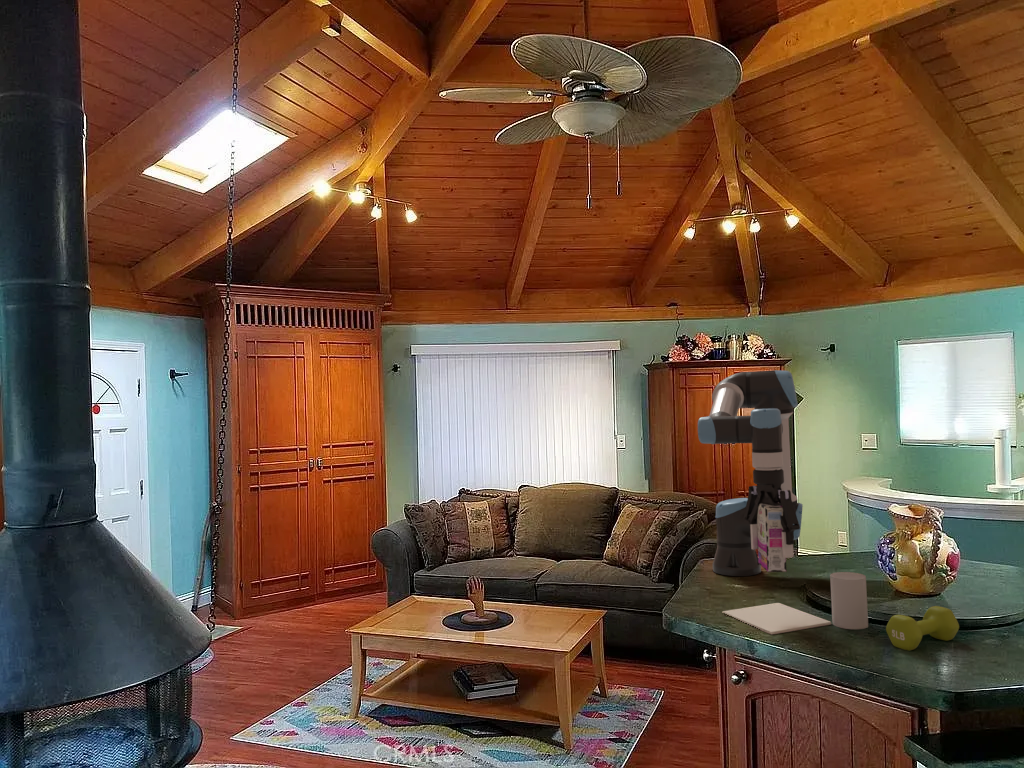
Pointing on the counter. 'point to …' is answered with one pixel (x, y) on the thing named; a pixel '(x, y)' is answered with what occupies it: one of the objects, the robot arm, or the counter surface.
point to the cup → (849, 600)
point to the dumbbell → (922, 627)
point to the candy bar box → (770, 538)
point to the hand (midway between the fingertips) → (771, 553)
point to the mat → (776, 618)
